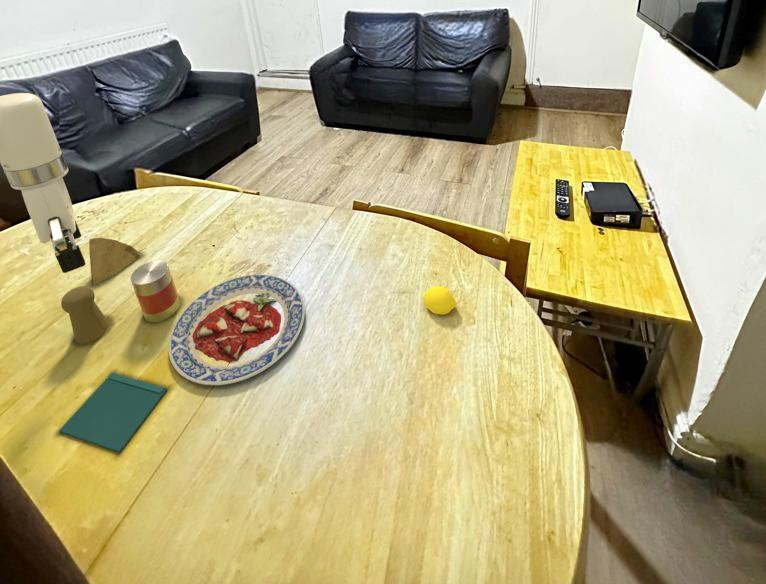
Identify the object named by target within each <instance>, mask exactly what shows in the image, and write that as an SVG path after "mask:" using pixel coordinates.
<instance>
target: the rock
mask: <svg viewBox="0 0 766 584" xmlns="http://www.w3.org/2000/svg"><path fill="white" fill-rule="evenodd" d="M88 243H89V244H88V245H89V246H88V249H89V253H88V254H89V264H90V275H91V279H92V283H93V285H97V284H99V283H101V282H103V281H105V280H106V279H109V278H111V277H113V276H116V275H117V274H118V273H120V272H121V271H123V269H124V268H126V267H128V266H130V265H131V264H132V263H133V262H135V261H136V260H139V259H140V258H142V255H141V252H139V251H138V250H137V249H136V248H134V246H132V245H130V244H127V243H124V242H121V241H118V240H116V239H111V238H106V237H94V238H90V239H89V241H88Z"/></svg>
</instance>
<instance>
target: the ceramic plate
mask: <svg viewBox="0 0 766 584" xmlns="http://www.w3.org/2000/svg"><path fill="white" fill-rule="evenodd" d="M253 294H255V295H254V297H253V298H252V300H253V301H255V302H256V303H252V302H251V301H250V300H243V299H242V300H235V301H231V302H230V303H227V304H224V303H225V302H227V301H229V300H231V299H234V298H236V297H240V296H245V295H253ZM268 297H270V298H268ZM274 301H276V302H277V303H278V305H280V307H281V308H282V312H283V325H282V328H281V323H282V315H281V313H280V312H279V311H278V309H277V308H275V307H274V306H272V305H271V304H270V303H269V302H274ZM222 304H223V305H222ZM257 304H259V305H257ZM220 305H221V306H220ZM218 306H219V308H217V307H218ZM216 308H217V309H216ZM214 309H215V310H214ZM305 313H306V308H305V301H304V299H303V296H302V294H301V293H300V291H299V290H298V289H297V287H296V286H294V284H292V283H291V282H289V281H288V280H286V279H284V278H282V277H279V276H276V275H272V274H271V275H270V274H248V275H242V276H238V277H234V278H231V279H228V280H226V281H223V282H221V283H219V284H217V285H215V286H213V287H211V288H209V289H208V290H206V291H205V292H203V293H202V294H200V295H199V296H198V297H197V298H195V299H194V300H193V301H192V302H191V303H189V305H188V306H186V308H185V309H184V310H183V312H182V313H181V314H180V315H179V317H178V318H177V320H176V321H175V323H174V325H173V327H172V330H171V331H170V336H169V340H168V346H167V347H168V356H169V360H170V362H171V365H172V367H173V368H174V369H175V370H176V372H177V373H178V374H179V375H180V376H182V377H183V378H185V379H186V380H187V381H190V382H193V383H195V384H198V385H204V386H223V385H224V386H225V385H230V384H235V383H239V382H242V381H245V380H247V379H250V378H252V377H255V376H256V375H259V374H260V373H262V372H264V371H266V370H267V369H268V368H270V367H272V366H273V365H274V364H276V362H278V361H279V360H280V359H282V357H283V356H284V355H285V354H286V353H287V352H288V351H289V350H290V349H291V348H292V346H293V345H294V343H295V342H296V340H297V339H298V337H299V335H300V333H301V331H302V328H303V325H304V322H305V315H306V314H305ZM280 329H281V330H280ZM278 334H279V335H278ZM276 335H278V336H277V338H276V339H275V340H274V342H273V343H272V344H271V345H270V346H269V347H268V348H267V349H266V350H265V351H263V352H262V353H261V354H259V355H258V356H256V357H254V358H252V359H250V360H248V361H246V362H245V361H244V362H243V363H239V364H236V365H228V366H227V365H215V364H211V363H209V362H208V361H206V360H205V359H203V358H202V357H201V356H200V354H199V353H198V351H199V352H202V353H203V355H206V356H207V357H208V358H213V359H214V360H215V361H216V362H220V361H224V362H226V363H229V364H231V363H232V362H237V361H238V360H239V359H240V357H241V356H243V355H244V353H246V352H247V351H249V350H250V349H252V348H258V347H259V346H260V345H262V344H264V343H265V342H267V341H271V340H272V339H271V338H274V337H275V336H276ZM197 350H198V351H197Z"/></svg>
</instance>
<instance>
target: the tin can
mask: <svg viewBox="0 0 766 584" xmlns="http://www.w3.org/2000/svg"><path fill="white" fill-rule="evenodd" d="M130 282H131V285H132V287H133V290H134V294H135V297H136V299H137V302H138V305H139V307H140V309H141V312H142V314H143V317H144V319H145V320H146V321H147V322H150V323H160V322H162V321H165V320H167V319H169V318H170V317H172V316H173V315H175V313H176V312H177V311H178V310H179V308H180V305H181V302H180V298H179V295H178V291H177V288H176V284H175V281H174V279H173V276H172V273H171V270H170V267H169V264H168V263H167V261H164V260H162V259H157V260H151V261H148V262H146V263H143V264H141V265H140V266H138V267H137V268H136V269H135V270H134V271H133V272H132V273H131V275H130Z"/></svg>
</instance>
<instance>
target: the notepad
mask: <svg viewBox="0 0 766 584" xmlns="http://www.w3.org/2000/svg"><path fill="white" fill-rule="evenodd" d="M167 392H168V388H167V387H164V386H160V385H157V384H153V383H149V382H145V381H142V380H139V379H136V378H131V377H128V376H126V375H125V376H124V375H122V374H118V373H114V372H111V373H110V374H109V375H108V376H107V377H106V378H105V380H104V381H103V382H102V383H101V384H100V385H99V386H98V387H97V388H96V389H95V390H94V392H93V393H92V394H91V395H90V396H89V397H88V398H87V399H86V400H85V402H84V403H83V404H82V405H81V406H80V407H79V408H78V409H77V411H75V412H74V413H73V415H72V416H71V417H70V418H69V419H68V420H67V422H66V423H64V424H63V426H62V427H61V428H60V429H59V430H58V432H59V433H61V434H64V435H66V436H69V437H72V438H74V439H78V440H81V441H82V442H83V441H84V442H87V443H89V444H92V445H96V446H98V447H101V448H104V449H107V450H110V451H113V452H116V453H119V454H120V453H122V451H123V450H124V449H125V448H126V446H127V445H128V443H130V441H131V439H133V437H134V436H135V434H136V433H137V431H138V430H139V429H140V427H141V426H142V425H143V424H144V422H145V421H146V420H147V418H148V417H149V416H150V414H151V413H152V411H153V410H154V409H155V408H156V406H157V405H158V404H159V402H160V401H161V400H162V398H163V397H164V396H165V394H166V393H167Z"/></svg>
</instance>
